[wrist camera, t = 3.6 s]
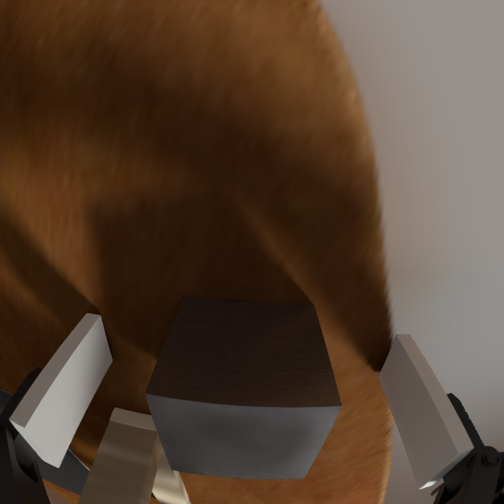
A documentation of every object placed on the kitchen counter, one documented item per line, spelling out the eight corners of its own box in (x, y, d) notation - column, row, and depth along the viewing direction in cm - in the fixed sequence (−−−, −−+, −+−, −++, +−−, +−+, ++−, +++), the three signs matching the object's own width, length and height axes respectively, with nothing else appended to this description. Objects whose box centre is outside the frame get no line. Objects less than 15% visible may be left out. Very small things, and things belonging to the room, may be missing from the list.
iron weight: (184, 295, 11) (144, 393, 6) (313, 303, 11) (341, 406, 6) (191, 382, 13) (171, 470, 8) (294, 388, 13) (304, 478, 8)
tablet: (137, 512, 25) (36, 475, 26) (138, 509, 26) (37, 472, 27) (31, 402, 15) (-61, 356, 16) (34, 397, 16) (-58, 353, 17)
